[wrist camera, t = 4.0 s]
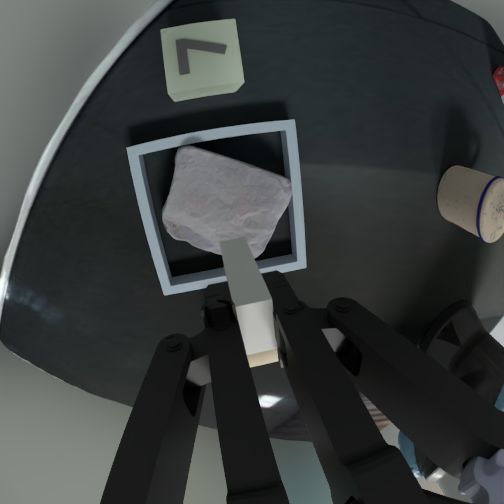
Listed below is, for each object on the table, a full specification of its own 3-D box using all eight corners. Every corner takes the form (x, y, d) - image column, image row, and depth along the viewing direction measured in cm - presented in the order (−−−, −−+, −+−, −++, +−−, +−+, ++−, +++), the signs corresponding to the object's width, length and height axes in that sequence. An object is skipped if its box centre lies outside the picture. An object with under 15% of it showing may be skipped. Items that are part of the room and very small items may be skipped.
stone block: (258, 246, 34) (292, 170, 29) (262, 271, 30) (303, 187, 25) (160, 219, 31) (182, 135, 26) (150, 242, 27) (173, 146, 22)
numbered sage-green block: (235, 92, 25) (244, 81, 19) (174, 102, 24) (167, 93, 19) (227, 39, 22) (235, 17, 17) (167, 48, 22) (160, 28, 16)
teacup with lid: (439, 231, 36) (494, 264, 26) (429, 176, 32) (494, 200, 22) (481, 199, 36) (532, 223, 25) (474, 149, 32) (532, 165, 21)
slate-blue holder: (300, 259, 34) (306, 267, 32) (165, 286, 32) (164, 295, 30) (288, 120, 27) (294, 119, 25) (131, 146, 25) (126, 147, 23)
